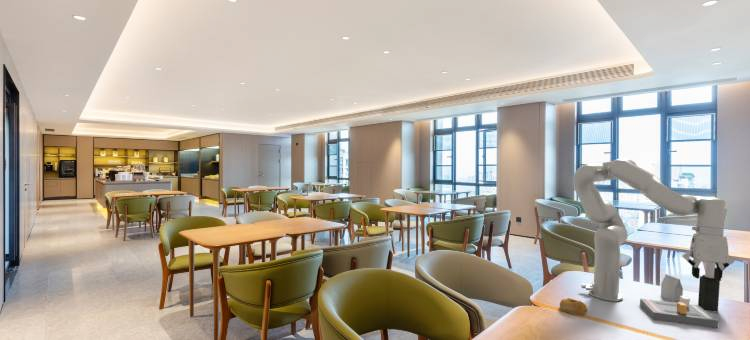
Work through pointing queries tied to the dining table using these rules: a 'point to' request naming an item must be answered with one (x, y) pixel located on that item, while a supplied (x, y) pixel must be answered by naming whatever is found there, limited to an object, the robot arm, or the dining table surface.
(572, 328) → the dining table surface
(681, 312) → the breaker handle
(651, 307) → the breaker panel
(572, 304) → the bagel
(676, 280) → the grey piece
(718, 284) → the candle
